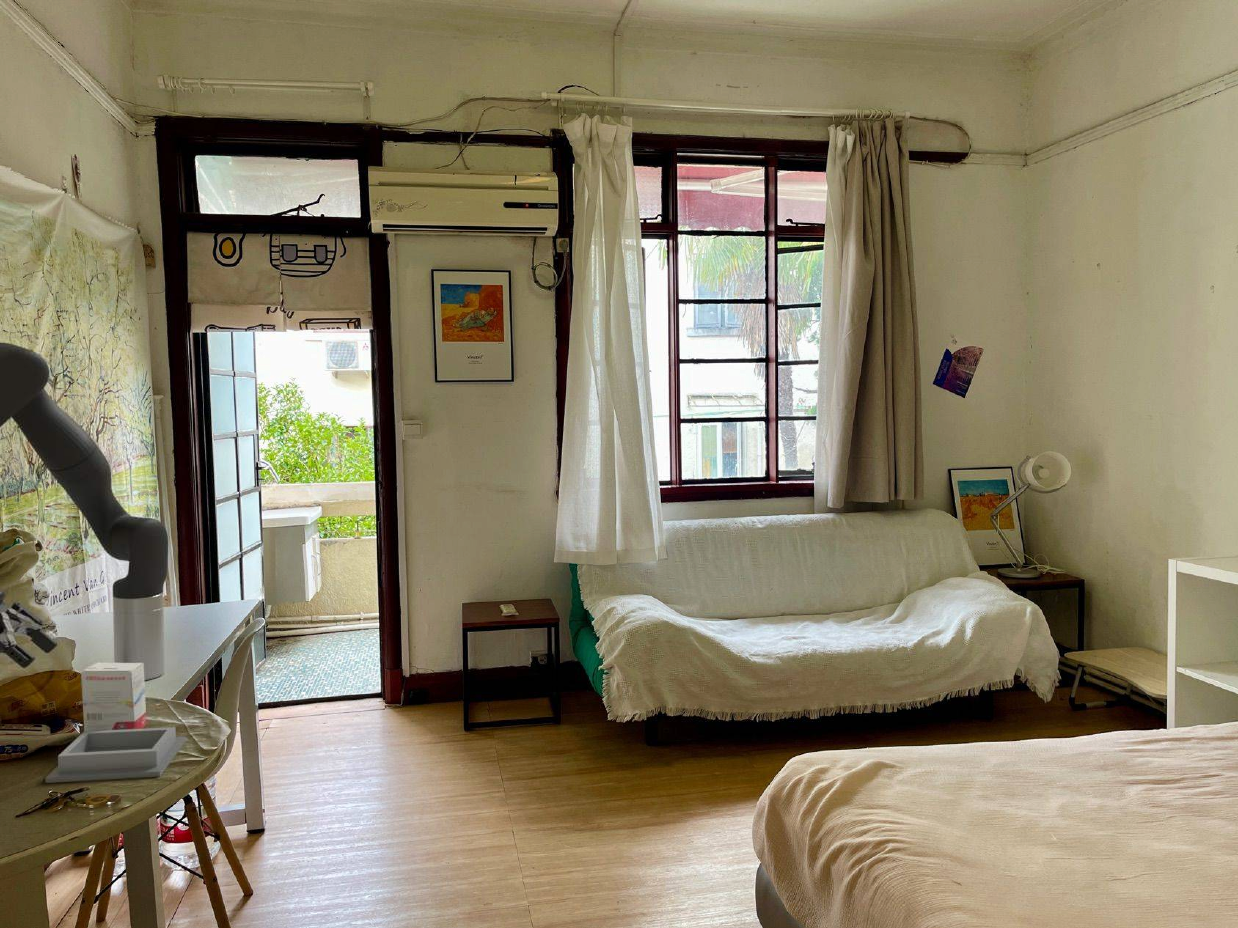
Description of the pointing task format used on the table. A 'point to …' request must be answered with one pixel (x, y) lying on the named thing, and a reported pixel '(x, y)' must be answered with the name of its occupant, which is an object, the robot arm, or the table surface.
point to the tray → (117, 755)
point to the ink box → (113, 696)
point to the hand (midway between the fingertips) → (42, 656)
